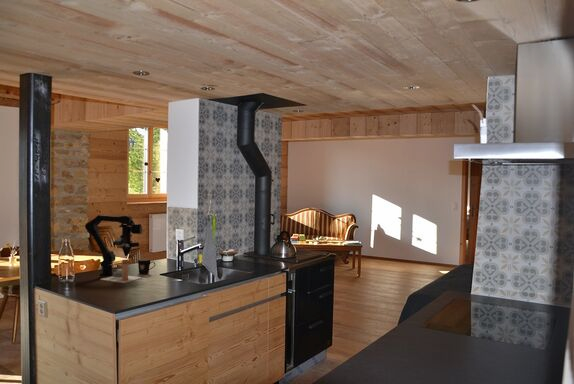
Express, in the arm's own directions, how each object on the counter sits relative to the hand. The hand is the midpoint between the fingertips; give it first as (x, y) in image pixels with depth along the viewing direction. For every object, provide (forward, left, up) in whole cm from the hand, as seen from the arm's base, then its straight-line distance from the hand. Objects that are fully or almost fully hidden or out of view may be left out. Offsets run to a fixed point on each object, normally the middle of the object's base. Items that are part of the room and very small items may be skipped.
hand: (125, 256), depth 324 cm
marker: (+14, -17, -12) cm, 25 cm away
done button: (+2, -7, -12) cm, 14 cm away
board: (+8, -12, -13) cm, 20 cm away
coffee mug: (+10, +9, -13) cm, 19 cm away
